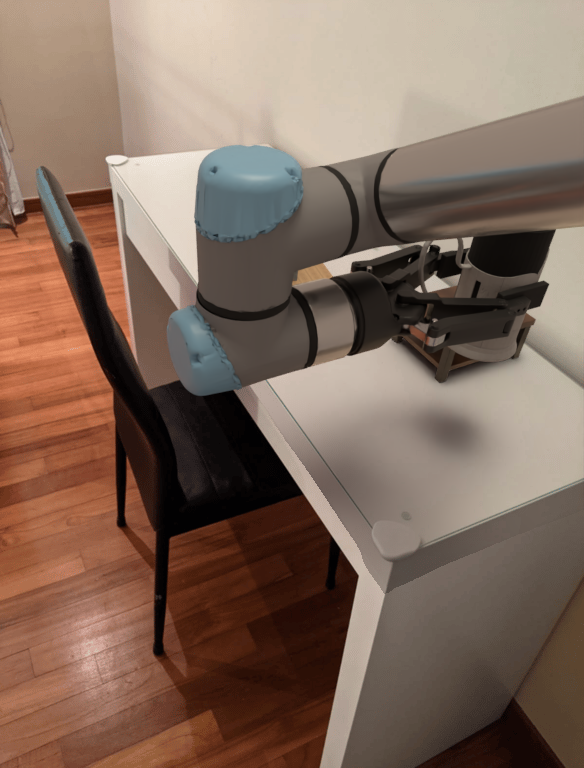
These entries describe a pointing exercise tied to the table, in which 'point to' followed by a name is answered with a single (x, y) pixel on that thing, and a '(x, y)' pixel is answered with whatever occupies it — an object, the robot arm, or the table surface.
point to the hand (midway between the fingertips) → (512, 274)
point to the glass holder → (496, 280)
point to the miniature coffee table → (449, 358)
